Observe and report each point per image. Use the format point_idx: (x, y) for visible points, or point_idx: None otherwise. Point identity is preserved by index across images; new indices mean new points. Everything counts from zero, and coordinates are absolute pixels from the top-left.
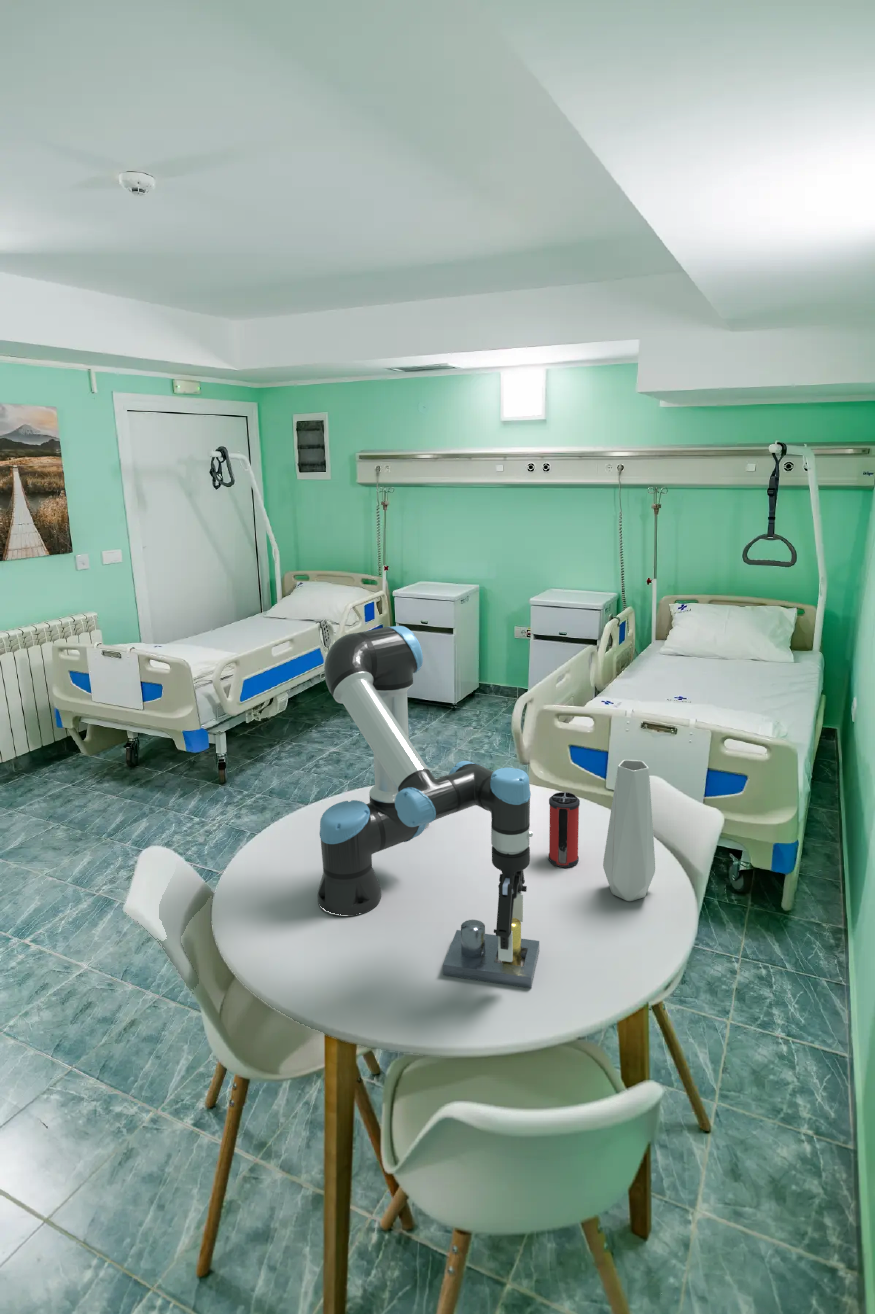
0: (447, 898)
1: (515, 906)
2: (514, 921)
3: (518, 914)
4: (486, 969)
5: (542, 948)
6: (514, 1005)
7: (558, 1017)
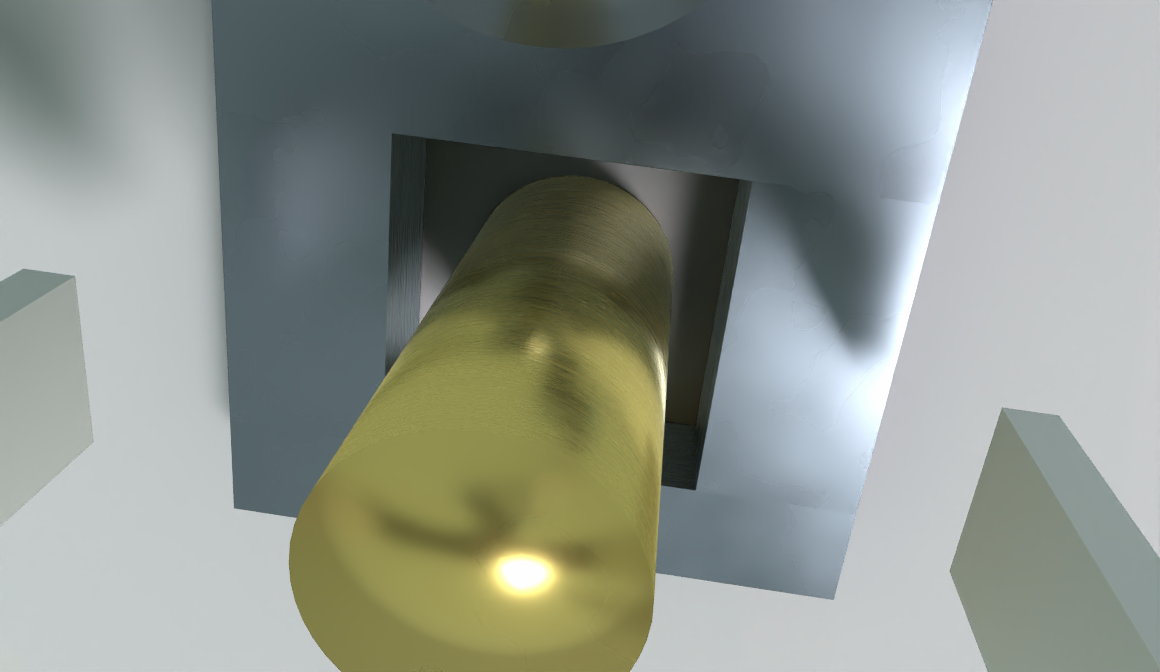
0: None
1: (1067, 660)
2: (526, 646)
3: (1001, 597)
4: (238, 46)
5: (865, 552)
6: None
7: (25, 611)
